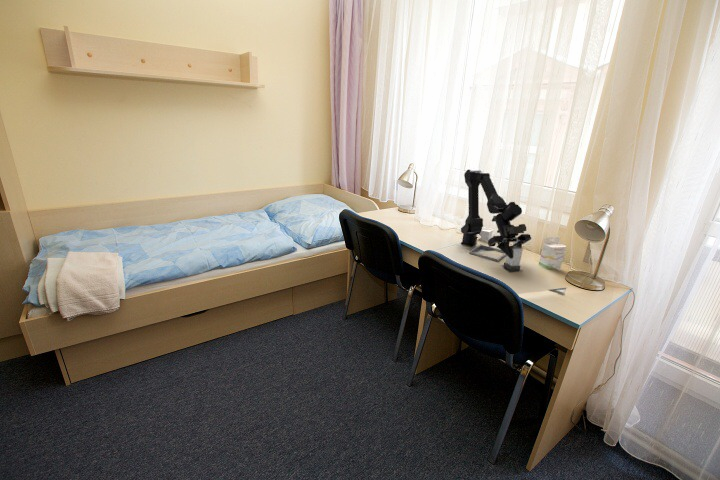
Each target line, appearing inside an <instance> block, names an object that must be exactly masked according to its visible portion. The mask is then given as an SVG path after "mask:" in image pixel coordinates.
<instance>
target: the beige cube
mask: <svg viewBox="0 0 720 480" xmlns="http://www.w3.org/2000/svg"><path fill="white" fill-rule="evenodd" d="M491 229H492V228H491ZM493 232H494V229H492V230H481V232H480V234H479V235H480V236H481V238H480V240H479V241H481V242H486V243H488V240H489V239H491V238H492V237H493Z"/></svg>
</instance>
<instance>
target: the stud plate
mask: <svg viewBox="0 0 720 480" xmlns="http://www.w3.org/2000/svg"><path fill="white" fill-rule="evenodd" d="M503 265H504V264H503ZM503 265H500V268H502V269H503V270H506V271H507V272H508V273H517V272H518V273H519V272H524V270H523V269H521V268H520V270H516V271H509V270H508V269H506V268H505V267H503Z"/></svg>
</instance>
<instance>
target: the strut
mask: <svg viewBox="0 0 720 480" xmlns="http://www.w3.org/2000/svg"><path fill="white" fill-rule="evenodd" d="M509 247H510V250H511V253H512V256H513V258H512V259H510V258H509V257H508V256H507V255H506V259H505V262H503V267H505V268H506V269H508V270H509V271H516V270H520V269H521V265H520V263H521V260H522V255H523V251H524V248H523V247H522V248H521V247H519V246H517V245H515V246H512V245H509Z"/></svg>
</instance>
